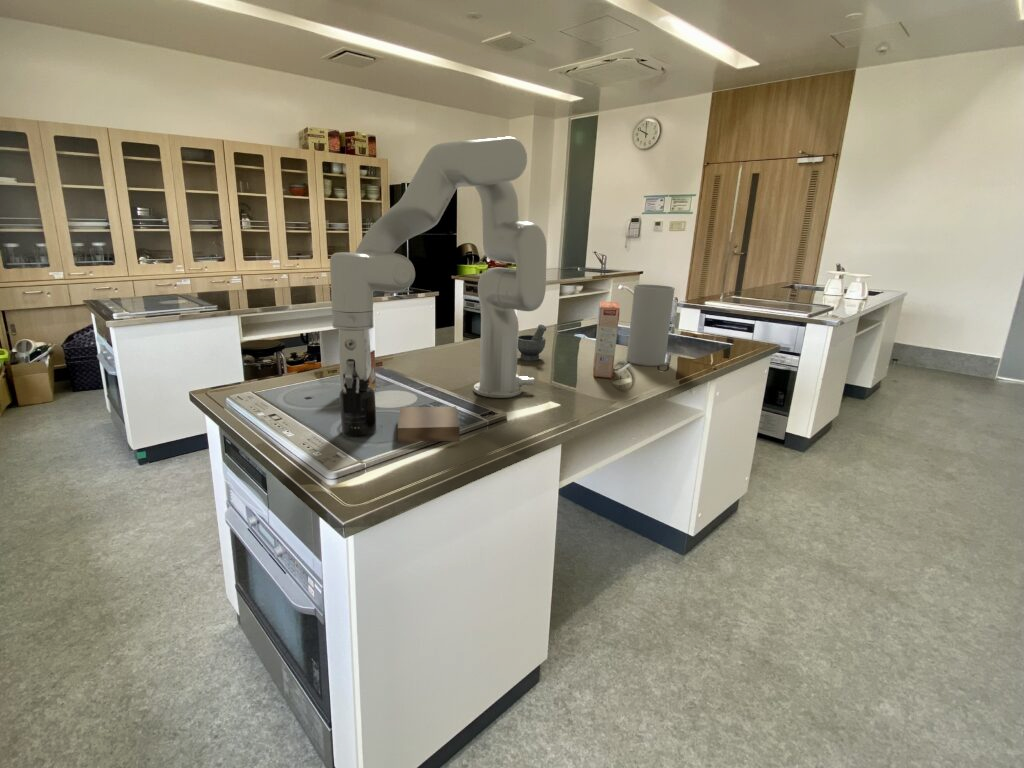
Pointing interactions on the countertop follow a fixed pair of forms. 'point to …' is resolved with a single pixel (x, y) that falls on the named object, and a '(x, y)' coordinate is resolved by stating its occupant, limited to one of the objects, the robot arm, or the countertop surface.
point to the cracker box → (606, 339)
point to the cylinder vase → (650, 324)
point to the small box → (372, 374)
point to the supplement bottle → (363, 421)
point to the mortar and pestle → (532, 344)
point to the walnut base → (428, 424)
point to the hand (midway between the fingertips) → (355, 404)
